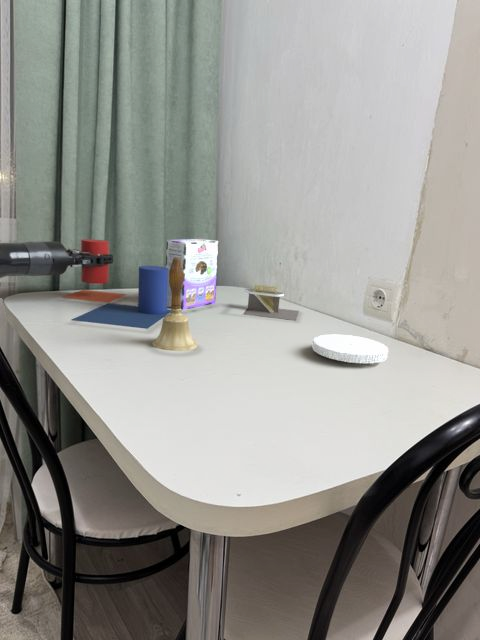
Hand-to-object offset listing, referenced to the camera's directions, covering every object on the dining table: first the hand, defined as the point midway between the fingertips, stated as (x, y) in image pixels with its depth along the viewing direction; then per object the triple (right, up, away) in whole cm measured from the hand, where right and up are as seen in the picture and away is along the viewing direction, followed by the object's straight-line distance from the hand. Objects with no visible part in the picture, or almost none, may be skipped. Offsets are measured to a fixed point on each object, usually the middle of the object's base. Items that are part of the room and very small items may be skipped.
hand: (102, 257), depth 126 cm
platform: (+40, -14, +3) cm, 42 cm away
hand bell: (+24, -23, -34) cm, 47 cm away
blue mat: (+10, -16, -15) cm, 24 cm away
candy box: (+22, -12, +1) cm, 25 cm away
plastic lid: (+56, -25, -30) cm, 69 cm away
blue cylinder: (+15, -14, -10) cm, 23 cm away
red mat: (-2, -10, +1) cm, 10 cm away
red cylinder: (-2, -6, 0) cm, 6 cm away
